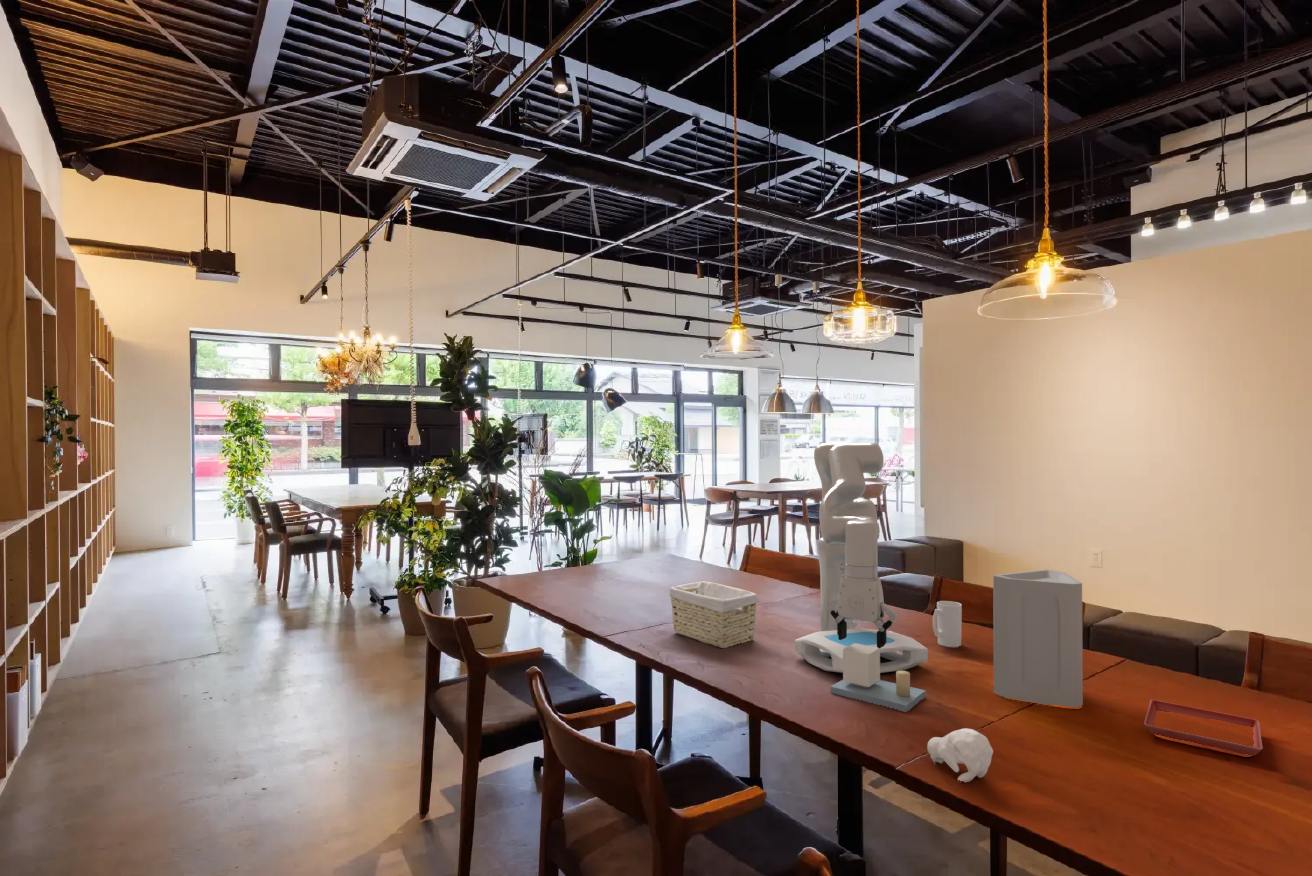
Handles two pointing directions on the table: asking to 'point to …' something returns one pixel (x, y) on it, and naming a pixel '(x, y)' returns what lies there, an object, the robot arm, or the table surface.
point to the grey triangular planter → (1038, 637)
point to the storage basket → (714, 613)
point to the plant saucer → (1206, 714)
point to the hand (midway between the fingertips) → (861, 642)
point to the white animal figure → (962, 752)
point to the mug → (948, 623)
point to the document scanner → (834, 646)
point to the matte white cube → (861, 664)
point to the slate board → (884, 692)
